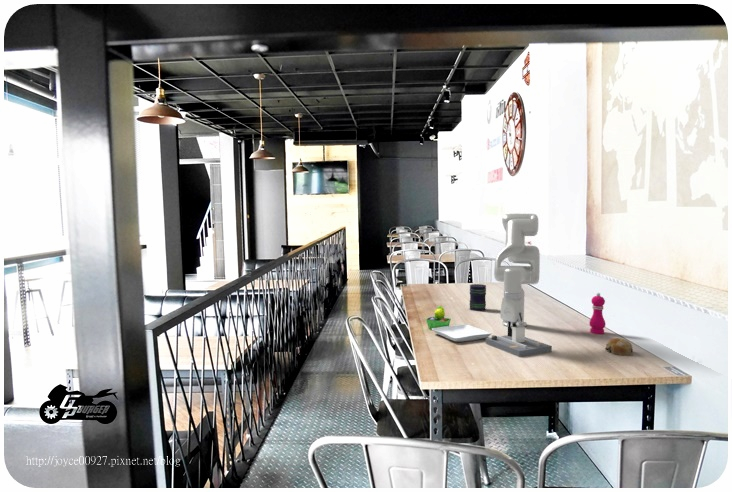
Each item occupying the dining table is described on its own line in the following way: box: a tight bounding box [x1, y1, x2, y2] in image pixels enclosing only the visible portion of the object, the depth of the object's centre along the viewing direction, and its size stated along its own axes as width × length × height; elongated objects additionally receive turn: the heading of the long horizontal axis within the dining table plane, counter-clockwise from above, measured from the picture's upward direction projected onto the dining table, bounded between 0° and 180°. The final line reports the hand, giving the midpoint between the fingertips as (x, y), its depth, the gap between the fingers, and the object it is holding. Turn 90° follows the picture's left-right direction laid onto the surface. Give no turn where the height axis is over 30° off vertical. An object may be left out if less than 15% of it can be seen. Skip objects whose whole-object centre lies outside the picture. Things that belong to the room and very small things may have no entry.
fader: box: [512, 326, 527, 343], centre depth 213 cm, size 3×5×7 cm, turn 114°
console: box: [485, 334, 553, 358], centre depth 213 cm, size 22×18×4 cm
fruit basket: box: [425, 305, 451, 330], centre depth 248 cm, size 11×9×11 cm
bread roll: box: [604, 337, 634, 356], centre depth 206 cm, size 10×10×8 cm
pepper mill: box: [588, 292, 606, 335], centre depth 239 cm, size 7×7×20 cm
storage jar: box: [469, 283, 487, 312], centre depth 296 cm, size 10×10×15 cm
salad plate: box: [431, 324, 492, 343], centre depth 232 cm, size 21×21×3 cm
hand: (511, 336), depth 217 cm, fingers closed
